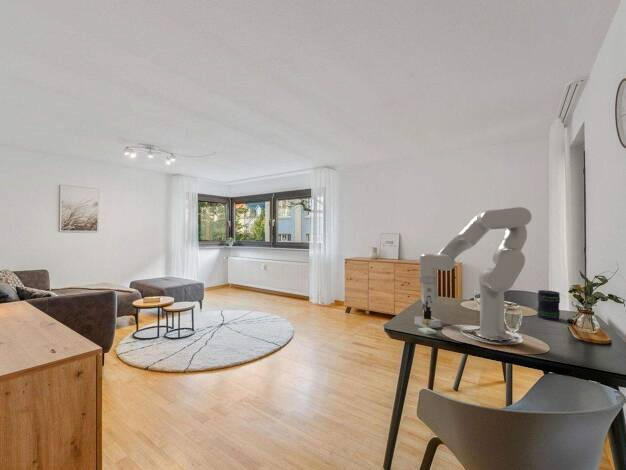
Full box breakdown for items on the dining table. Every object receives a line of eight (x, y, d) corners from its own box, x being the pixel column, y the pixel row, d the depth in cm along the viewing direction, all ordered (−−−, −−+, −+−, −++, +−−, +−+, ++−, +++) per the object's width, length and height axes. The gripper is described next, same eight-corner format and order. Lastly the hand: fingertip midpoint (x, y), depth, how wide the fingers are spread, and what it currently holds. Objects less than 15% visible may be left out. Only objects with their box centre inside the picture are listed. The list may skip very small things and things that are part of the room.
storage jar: (541, 319, 167) (542, 293, 167) (534, 315, 177) (534, 289, 177) (563, 321, 165) (563, 294, 164) (554, 316, 174) (555, 290, 174)
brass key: (429, 323, 147) (429, 302, 147) (430, 325, 143) (431, 304, 143) (421, 322, 148) (422, 302, 147) (422, 324, 144) (423, 304, 144)
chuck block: (440, 327, 153) (440, 320, 153) (425, 328, 150) (425, 321, 150) (424, 320, 164) (424, 314, 164) (410, 321, 161) (410, 315, 161)
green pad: (436, 333, 144) (436, 331, 144) (426, 334, 142) (426, 332, 142) (428, 329, 149) (428, 327, 149) (417, 330, 147) (417, 328, 147)
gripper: (439, 283, 136) (438, 323, 137) (432, 277, 153) (431, 313, 153) (421, 282, 138) (420, 322, 138) (417, 276, 154) (416, 312, 154)
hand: (426, 317), depth 145 cm, fingers closed on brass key, 3 cm apart
